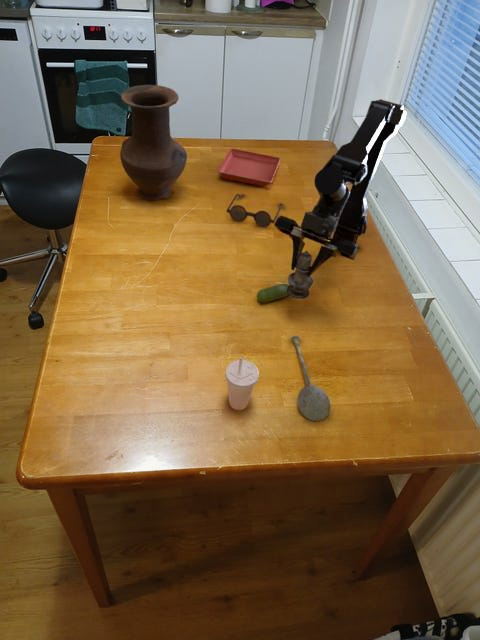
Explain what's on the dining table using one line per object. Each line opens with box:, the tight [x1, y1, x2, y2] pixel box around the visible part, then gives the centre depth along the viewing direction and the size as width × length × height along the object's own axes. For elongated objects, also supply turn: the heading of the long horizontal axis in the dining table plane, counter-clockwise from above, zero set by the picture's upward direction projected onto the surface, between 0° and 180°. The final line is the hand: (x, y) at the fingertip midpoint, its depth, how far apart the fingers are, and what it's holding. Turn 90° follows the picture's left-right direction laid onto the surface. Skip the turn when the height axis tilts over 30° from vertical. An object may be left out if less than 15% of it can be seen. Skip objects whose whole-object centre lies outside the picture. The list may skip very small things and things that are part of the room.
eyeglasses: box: [226, 193, 284, 228], centre depth 147 cm, size 15×15×5 cm
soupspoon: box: [290, 335, 331, 423], centre depth 104 cm, size 22×3×7 cm
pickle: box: [256, 283, 290, 303], centre depth 121 cm, size 9×3×3 cm, turn 116°
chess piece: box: [287, 250, 314, 300], centre depth 110 cm, size 6×6×12 cm
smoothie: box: [224, 356, 260, 411], centre depth 94 cm, size 6×6×14 cm
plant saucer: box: [217, 147, 281, 187], centre depth 164 cm, size 18×18×3 cm
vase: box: [119, 84, 188, 202], centre depth 141 cm, size 19×19×30 cm
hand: (300, 273), depth 108 cm, fingers closed on chess piece, 3 cm apart
